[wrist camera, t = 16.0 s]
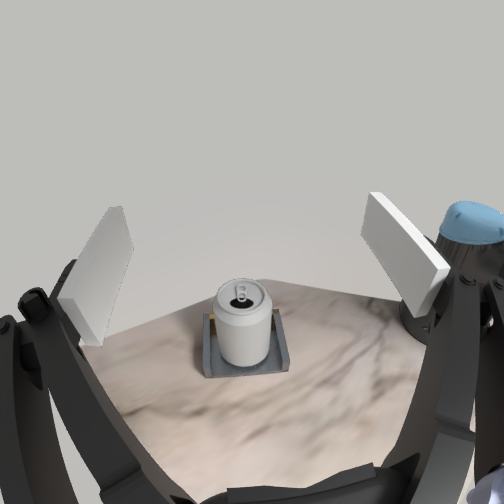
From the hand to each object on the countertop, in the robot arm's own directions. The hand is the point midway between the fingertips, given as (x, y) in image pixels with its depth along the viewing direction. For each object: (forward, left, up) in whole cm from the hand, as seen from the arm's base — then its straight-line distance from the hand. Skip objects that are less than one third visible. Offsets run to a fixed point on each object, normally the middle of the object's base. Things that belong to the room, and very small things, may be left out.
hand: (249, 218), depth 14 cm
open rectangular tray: (0, -13, -30) cm, 32 cm away
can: (0, -12, -29) cm, 32 cm away
